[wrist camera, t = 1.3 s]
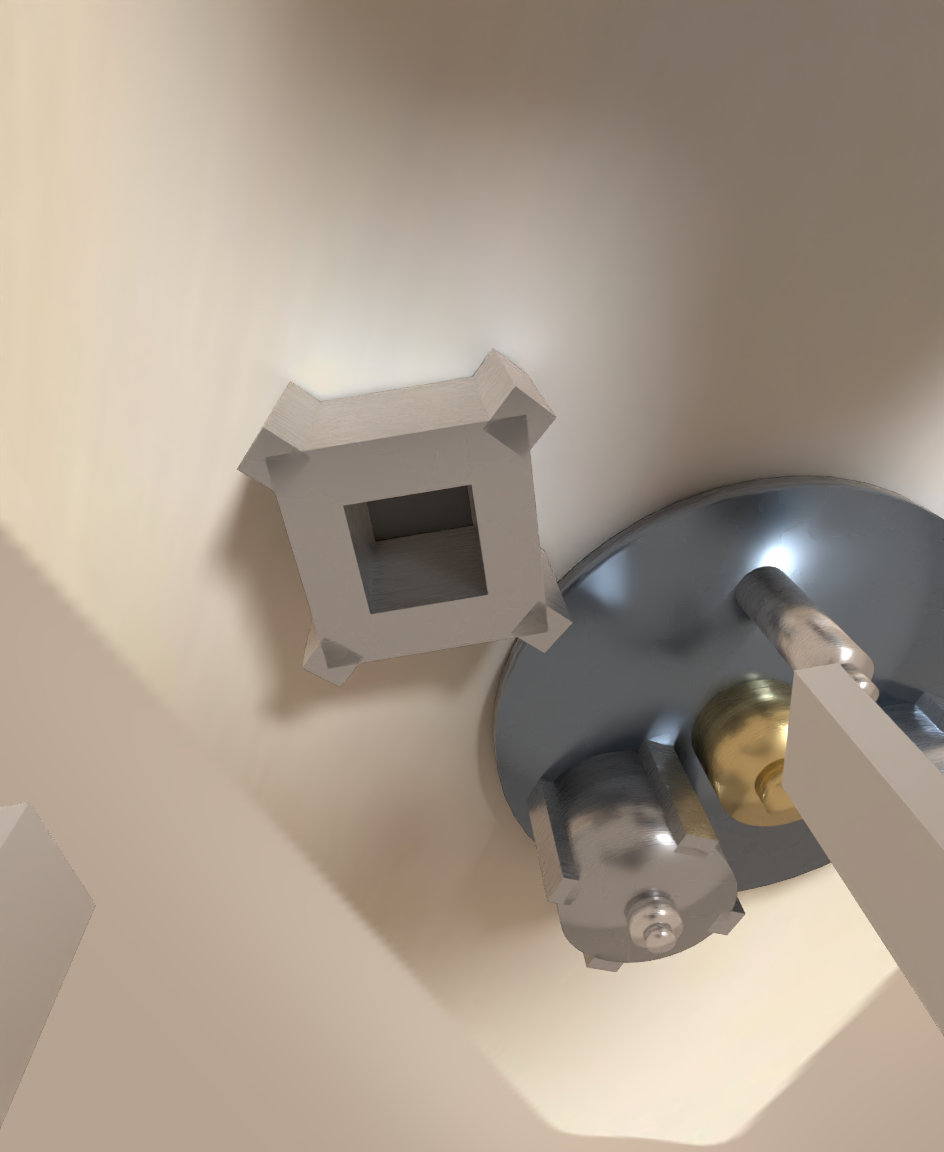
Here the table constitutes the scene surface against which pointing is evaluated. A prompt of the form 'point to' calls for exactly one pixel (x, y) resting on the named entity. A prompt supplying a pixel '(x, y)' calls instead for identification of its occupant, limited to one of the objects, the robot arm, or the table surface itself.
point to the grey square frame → (420, 562)
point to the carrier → (709, 699)
